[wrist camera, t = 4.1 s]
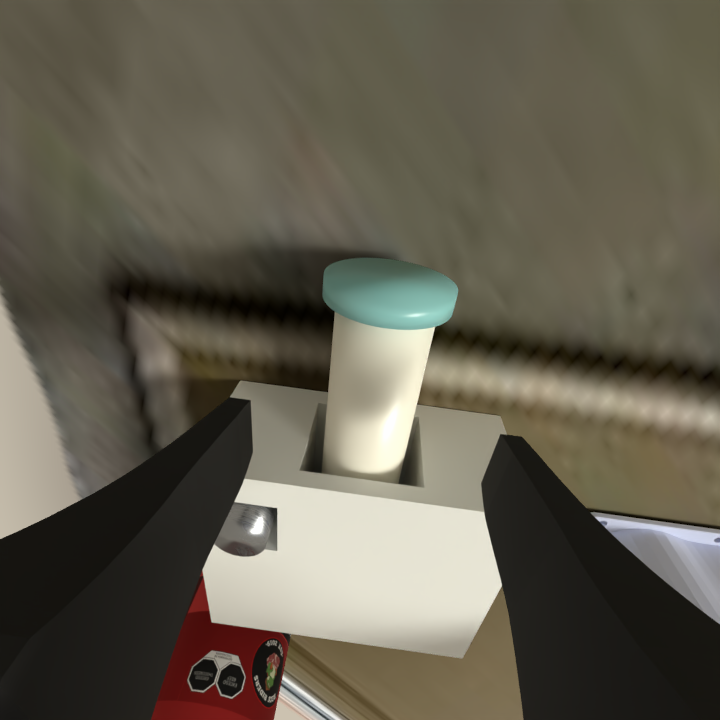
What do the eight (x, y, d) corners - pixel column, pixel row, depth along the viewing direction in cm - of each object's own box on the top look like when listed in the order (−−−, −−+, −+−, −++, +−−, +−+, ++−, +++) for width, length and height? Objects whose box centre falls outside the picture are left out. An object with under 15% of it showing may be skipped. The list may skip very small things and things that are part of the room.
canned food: (319, 590, 31) (285, 793, 22) (234, 603, 33) (170, 794, 24) (272, 531, 27) (208, 742, 18) (181, 550, 30) (81, 747, 20)
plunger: (289, 454, 19) (265, 525, 16) (288, 487, 20) (266, 560, 17) (240, 447, 19) (207, 517, 16) (243, 481, 20) (212, 552, 17)
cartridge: (449, 267, 16) (468, 315, 12) (389, 525, 25) (387, 604, 21) (333, 251, 16) (312, 294, 12) (314, 514, 25) (297, 591, 21)
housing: (500, 415, 21) (537, 519, 15) (449, 550, 27) (462, 658, 21) (240, 380, 21) (184, 470, 15) (248, 522, 27) (211, 622, 22)
